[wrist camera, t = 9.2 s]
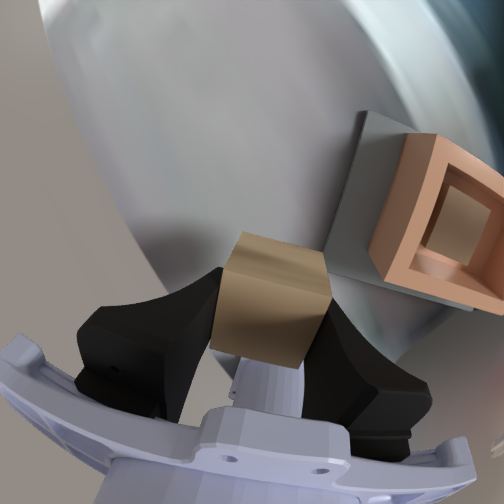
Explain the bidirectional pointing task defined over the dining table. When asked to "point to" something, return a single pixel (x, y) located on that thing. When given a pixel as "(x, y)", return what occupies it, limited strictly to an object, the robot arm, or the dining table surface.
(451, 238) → the walnut block
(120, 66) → the dining table surface
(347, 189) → the slate tray
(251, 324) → the oak block
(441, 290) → the terracotta box
